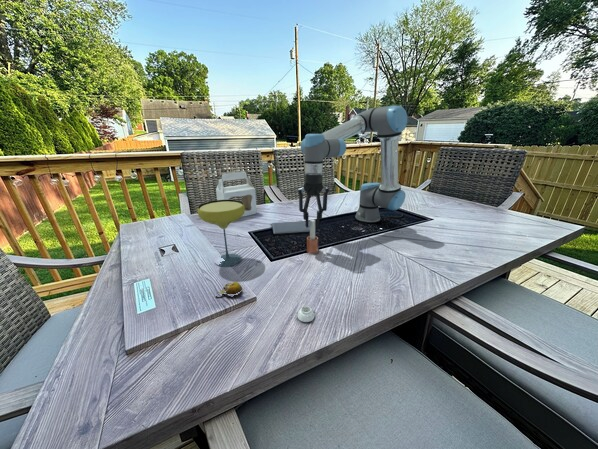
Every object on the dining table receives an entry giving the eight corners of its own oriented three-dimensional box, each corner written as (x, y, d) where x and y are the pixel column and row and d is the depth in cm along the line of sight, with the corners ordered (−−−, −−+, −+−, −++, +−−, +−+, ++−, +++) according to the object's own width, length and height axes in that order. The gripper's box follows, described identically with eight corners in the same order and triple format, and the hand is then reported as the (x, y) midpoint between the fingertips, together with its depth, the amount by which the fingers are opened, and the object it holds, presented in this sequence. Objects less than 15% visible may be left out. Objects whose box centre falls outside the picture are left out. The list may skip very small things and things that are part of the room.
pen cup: (316, 248, 117) (316, 235, 115) (319, 253, 113) (319, 239, 110) (305, 249, 117) (305, 236, 114) (307, 254, 112) (308, 240, 109)
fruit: (227, 283, 91) (226, 275, 89) (247, 287, 88) (246, 279, 87) (213, 297, 83) (211, 288, 82) (234, 302, 81) (233, 292, 80)
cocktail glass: (226, 276, 96) (218, 215, 87) (196, 263, 105) (187, 207, 96) (257, 257, 110) (253, 203, 101) (228, 247, 119) (222, 197, 110)
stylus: (314, 249, 116) (314, 219, 110) (315, 251, 114) (316, 221, 108) (309, 249, 115) (309, 219, 110) (310, 252, 113) (310, 221, 108)
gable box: (248, 209, 178) (245, 169, 169) (257, 213, 169) (254, 172, 159) (218, 215, 166) (213, 173, 156) (226, 220, 156) (220, 175, 146)
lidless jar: (300, 309, 77) (295, 320, 73) (300, 302, 76) (294, 312, 72) (316, 313, 76) (311, 324, 71) (316, 305, 75) (311, 316, 70)
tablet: (309, 222, 152) (309, 220, 152) (315, 232, 136) (315, 230, 136) (271, 224, 149) (271, 222, 148) (273, 235, 133) (273, 233, 133)
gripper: (294, 175, 97) (294, 230, 105) (336, 174, 100) (333, 227, 108) (291, 172, 104) (292, 224, 112) (331, 171, 107) (329, 222, 115)
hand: (312, 225), depth 110 cm, fingers open, 4 cm apart
